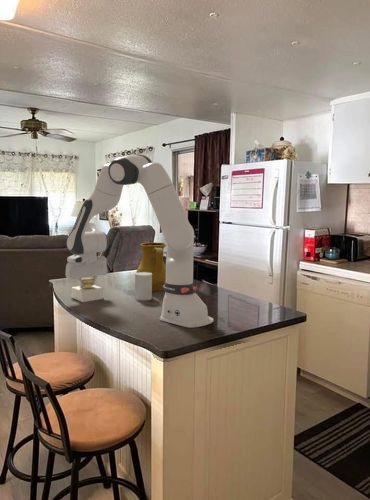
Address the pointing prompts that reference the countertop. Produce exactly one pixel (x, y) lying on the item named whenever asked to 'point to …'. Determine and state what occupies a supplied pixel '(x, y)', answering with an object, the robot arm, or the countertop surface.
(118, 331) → the countertop surface
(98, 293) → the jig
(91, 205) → the robot arm
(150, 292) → the white cylinder
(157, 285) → the pitcher
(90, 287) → the brass dome knob
